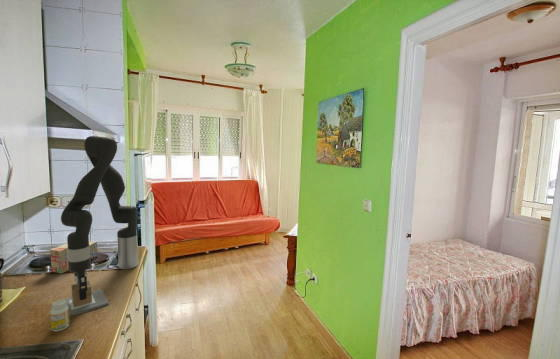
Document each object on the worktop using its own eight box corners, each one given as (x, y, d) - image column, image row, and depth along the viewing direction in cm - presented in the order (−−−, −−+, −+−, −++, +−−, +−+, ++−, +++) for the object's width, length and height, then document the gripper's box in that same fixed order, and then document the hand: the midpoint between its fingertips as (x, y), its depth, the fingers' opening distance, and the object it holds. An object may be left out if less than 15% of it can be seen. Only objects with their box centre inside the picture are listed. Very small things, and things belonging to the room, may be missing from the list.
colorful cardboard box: (89, 255, 163) (88, 235, 161) (98, 257, 161) (96, 236, 160) (51, 272, 142) (49, 249, 141) (60, 274, 141) (59, 250, 139)
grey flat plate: (56, 303, 116) (56, 300, 116) (101, 290, 127) (101, 288, 127) (59, 320, 106) (59, 317, 106) (108, 304, 116) (108, 302, 116)
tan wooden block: (72, 300, 116) (71, 285, 115) (89, 295, 120) (88, 280, 119) (74, 307, 112) (73, 291, 111) (92, 302, 116) (91, 286, 115)
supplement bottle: (60, 332, 99) (58, 307, 98) (47, 331, 100) (45, 306, 98) (73, 323, 104) (71, 299, 103) (60, 321, 105) (59, 297, 104)
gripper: (93, 260, 111) (95, 299, 113) (87, 249, 121) (89, 285, 123) (69, 266, 106) (72, 306, 108) (65, 253, 116) (68, 291, 118)
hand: (81, 295), depth 116 cm, fingers open, 7 cm apart
